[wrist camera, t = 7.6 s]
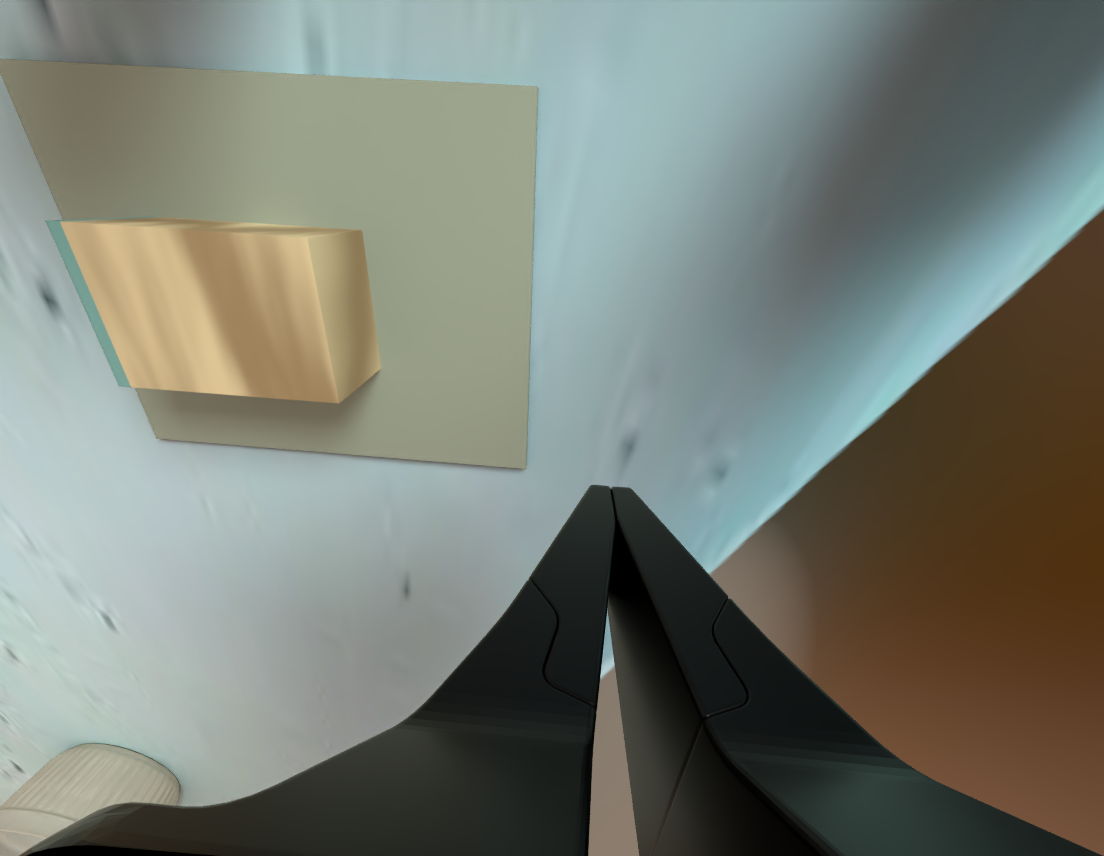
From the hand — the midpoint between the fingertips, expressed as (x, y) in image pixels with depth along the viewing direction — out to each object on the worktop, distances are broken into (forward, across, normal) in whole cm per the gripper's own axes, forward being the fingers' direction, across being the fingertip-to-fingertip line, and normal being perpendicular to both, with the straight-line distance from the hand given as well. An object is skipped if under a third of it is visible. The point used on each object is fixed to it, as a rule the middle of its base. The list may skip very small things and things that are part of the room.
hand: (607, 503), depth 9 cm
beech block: (+10, +10, -1) cm, 14 cm away
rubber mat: (+12, +13, -1) cm, 18 cm away
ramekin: (+12, +42, +47) cm, 64 cm away
